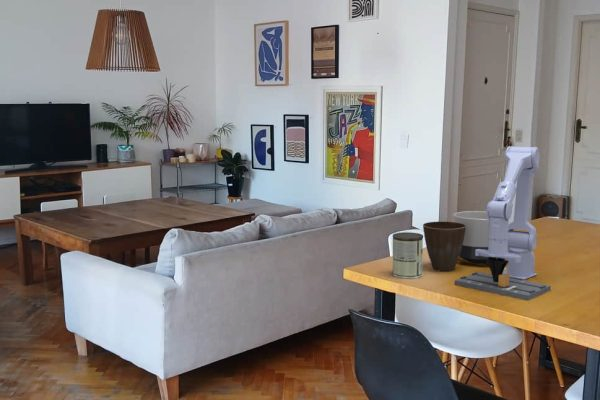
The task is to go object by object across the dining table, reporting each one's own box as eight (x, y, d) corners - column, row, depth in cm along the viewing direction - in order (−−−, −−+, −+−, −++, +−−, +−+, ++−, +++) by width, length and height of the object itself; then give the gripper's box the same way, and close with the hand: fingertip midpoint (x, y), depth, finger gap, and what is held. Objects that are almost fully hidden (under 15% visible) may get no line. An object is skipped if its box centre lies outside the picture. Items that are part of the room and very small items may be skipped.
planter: (508, 268, 225) (510, 219, 223) (453, 266, 229) (454, 218, 227) (502, 256, 244) (504, 211, 242) (451, 254, 248) (452, 210, 246)
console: (478, 276, 215) (479, 270, 215) (550, 290, 197) (550, 284, 197) (454, 284, 205) (454, 278, 205) (527, 300, 187) (528, 293, 187)
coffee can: (389, 271, 223) (390, 232, 221) (418, 271, 223) (419, 231, 221) (395, 279, 212) (395, 238, 211) (425, 278, 213) (426, 237, 211)
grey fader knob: (501, 277, 206) (501, 266, 206) (506, 278, 205) (507, 267, 204) (496, 279, 204) (496, 268, 204) (502, 280, 203) (502, 269, 202)
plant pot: (458, 276, 216) (459, 230, 214) (416, 271, 223) (417, 226, 221) (469, 266, 229) (470, 223, 227) (429, 262, 236) (430, 220, 234)
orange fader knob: (503, 284, 198) (503, 272, 198) (509, 285, 197) (509, 274, 196) (498, 285, 196) (498, 274, 196) (504, 287, 195) (504, 275, 194)
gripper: (470, 237, 199) (469, 279, 201) (513, 244, 188) (512, 288, 190) (482, 234, 204) (481, 275, 205) (524, 240, 193) (523, 283, 195)
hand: (496, 281), depth 198 cm, fingers closed
